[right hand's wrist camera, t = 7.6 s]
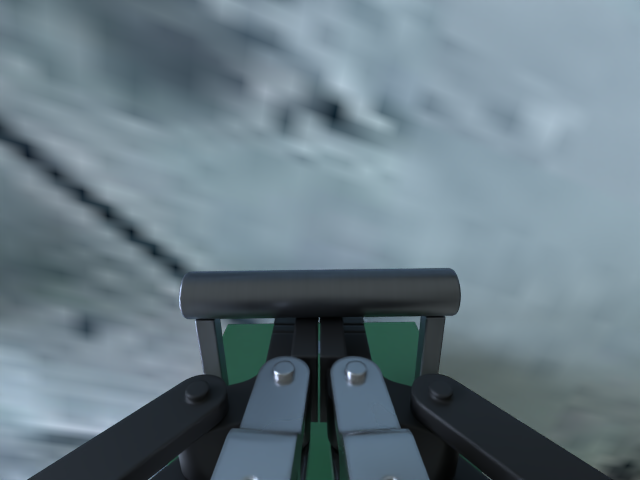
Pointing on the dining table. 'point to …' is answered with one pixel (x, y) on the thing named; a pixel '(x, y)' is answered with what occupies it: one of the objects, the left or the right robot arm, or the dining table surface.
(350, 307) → the drawer
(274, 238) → the dining table surface
